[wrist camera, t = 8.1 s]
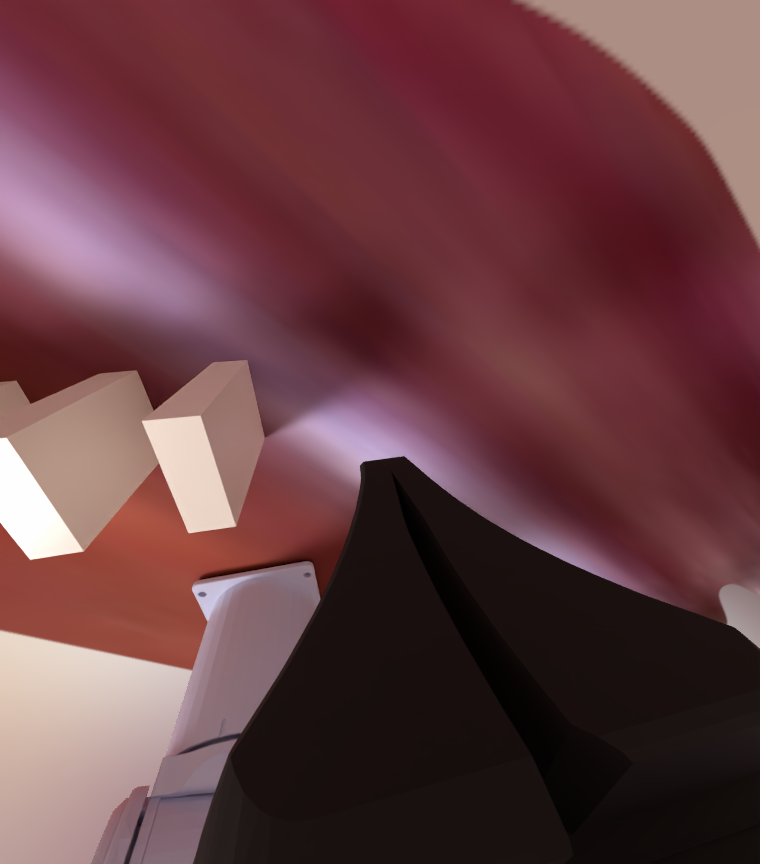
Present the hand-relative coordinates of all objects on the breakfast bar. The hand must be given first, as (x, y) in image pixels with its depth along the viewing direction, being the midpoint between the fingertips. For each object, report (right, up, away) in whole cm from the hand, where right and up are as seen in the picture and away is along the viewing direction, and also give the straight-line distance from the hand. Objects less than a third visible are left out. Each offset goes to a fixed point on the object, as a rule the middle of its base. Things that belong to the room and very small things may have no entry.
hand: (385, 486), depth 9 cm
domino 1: (-12, +2, +6) cm, 14 cm away
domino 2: (-8, +3, +7) cm, 11 cm away
